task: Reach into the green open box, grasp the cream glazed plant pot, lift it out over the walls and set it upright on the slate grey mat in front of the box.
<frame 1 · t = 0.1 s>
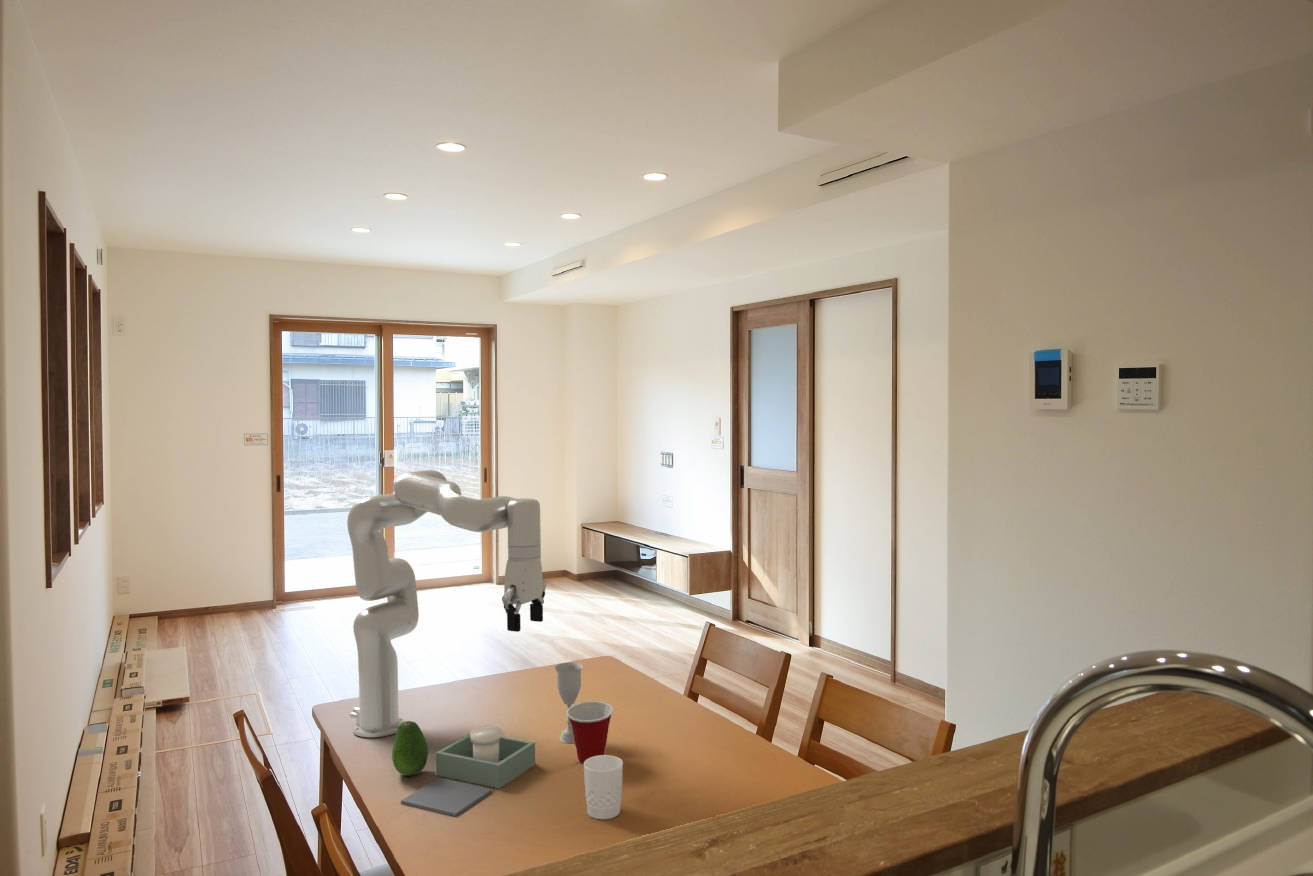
hand: (525, 626, 196), 31 cm above the table, tool pointing down, fingers open, 9 cm apart
green open box: (486, 769, 191), on the table
white cup: (603, 813, 170), on the table
mat: (446, 797, 177), on the table
avocado: (410, 775, 189), on the table
chalice: (569, 740, 209), on the table
pot: (486, 750, 191), in the green open box
plastic cup: (590, 761, 196), on the table
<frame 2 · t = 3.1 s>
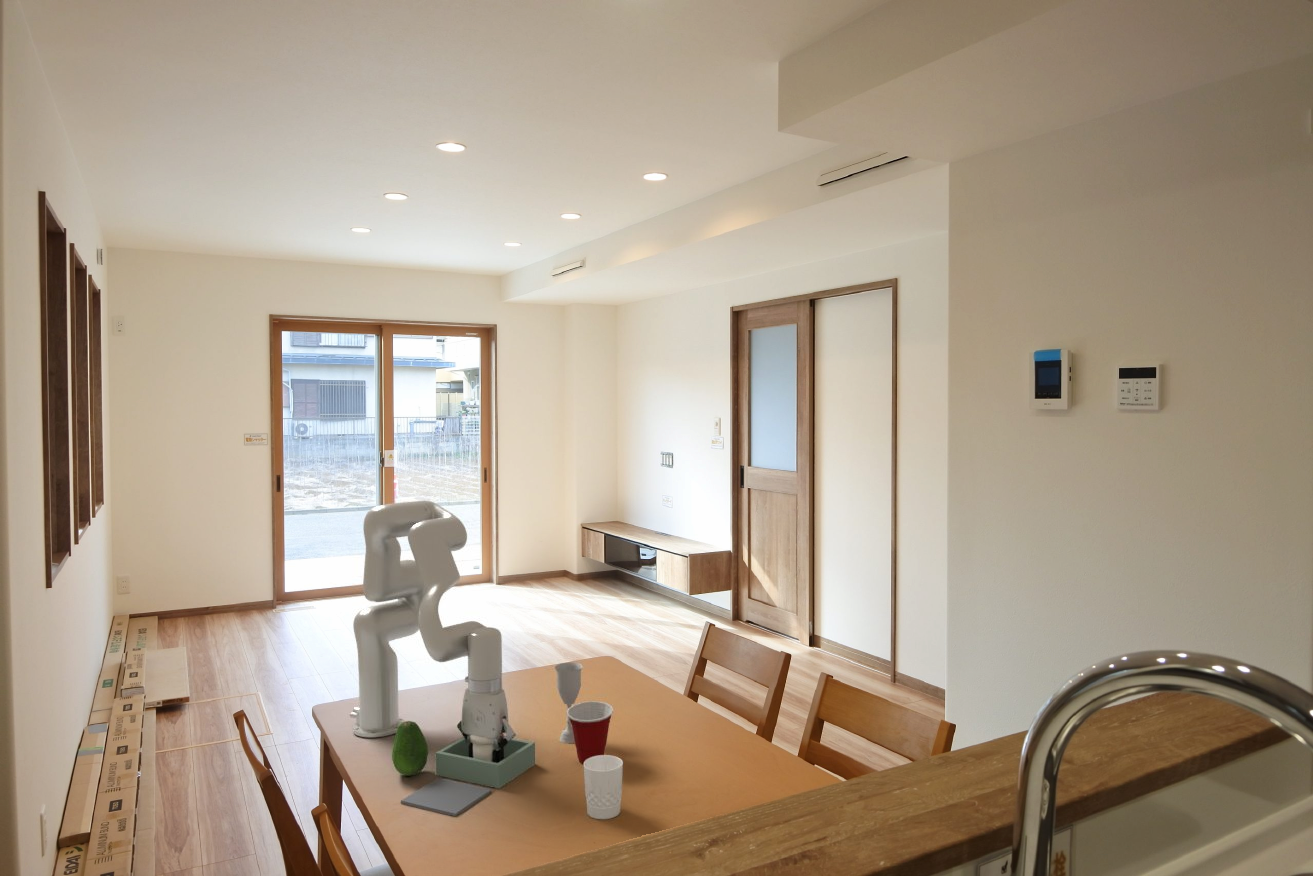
hand: (486, 762, 191), 2 cm above the table, tool pointing down, fingers closed on pot, 5 cm apart
pot: (486, 750, 191), in the green open box, touching gripper
everything else where it was.
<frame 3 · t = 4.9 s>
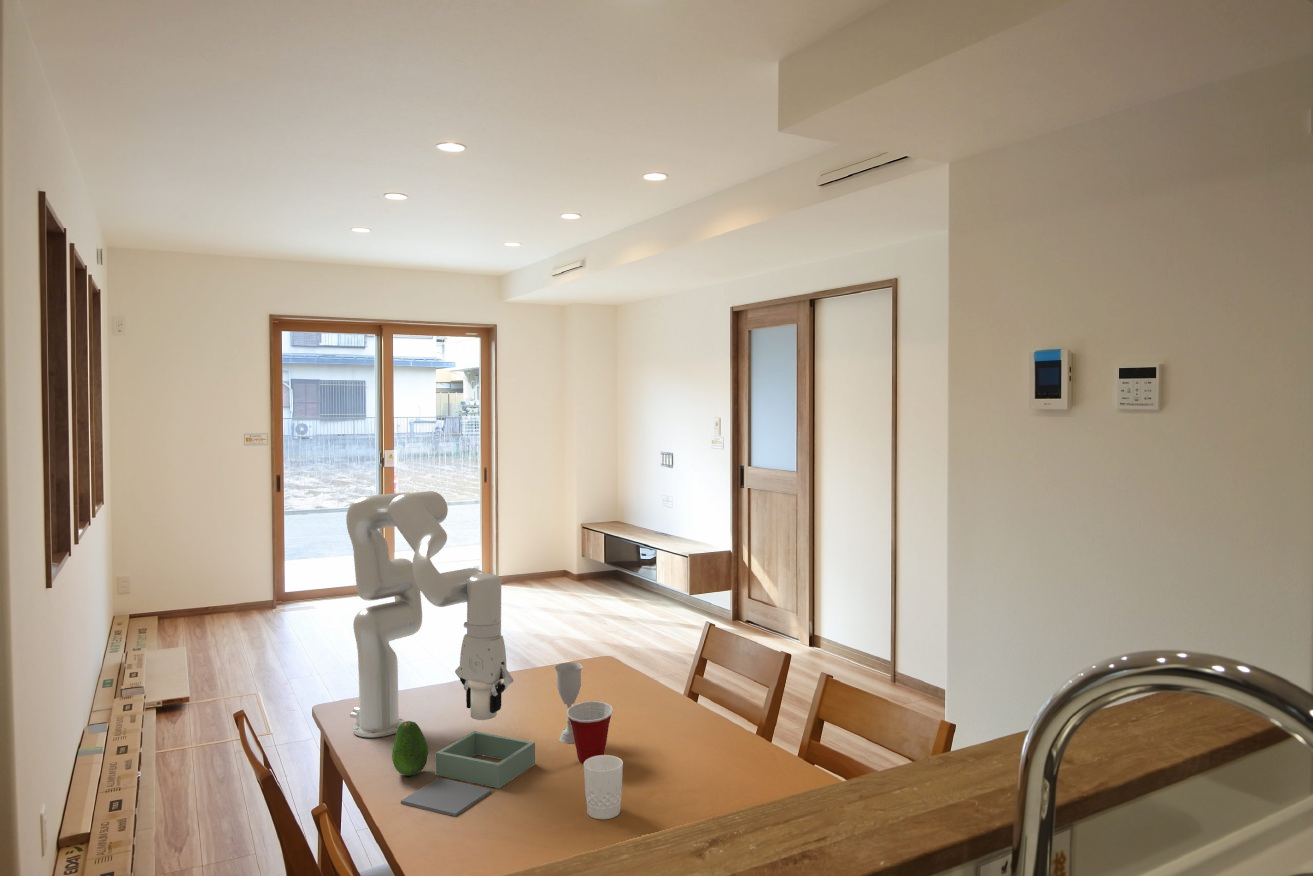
hand: (483, 708, 191), 14 cm above the table, tool pointing down, fingers closed on pot, 5 cm apart
pot: (483, 696, 191), point 16 cm above the table, touching gripper
everything else where it was.
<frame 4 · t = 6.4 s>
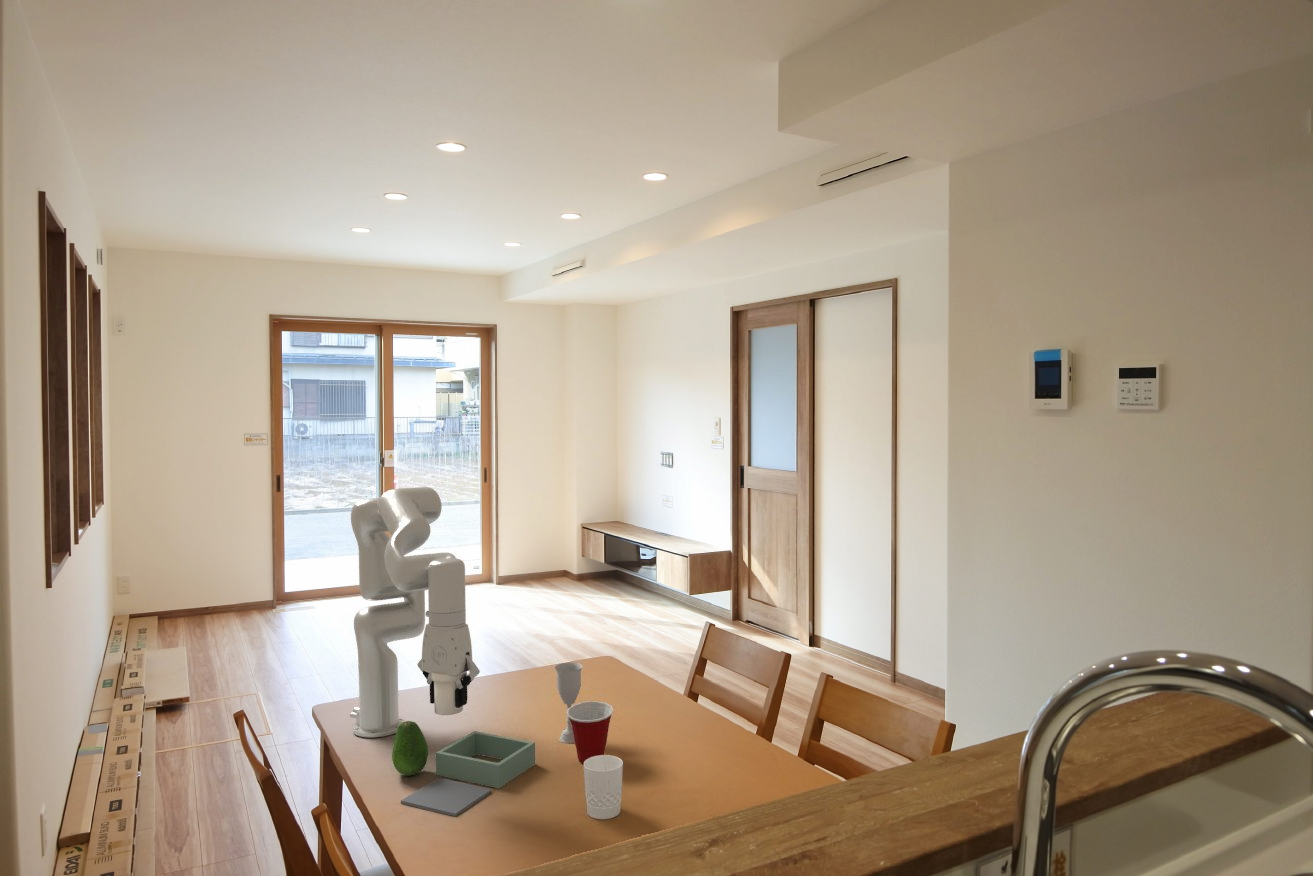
hand: (448, 702, 178), 20 cm above the table, tool pointing down, fingers closed on pot, 5 cm apart
pot: (448, 690, 178), point 22 cm above the table, touching gripper
everything else where it was.
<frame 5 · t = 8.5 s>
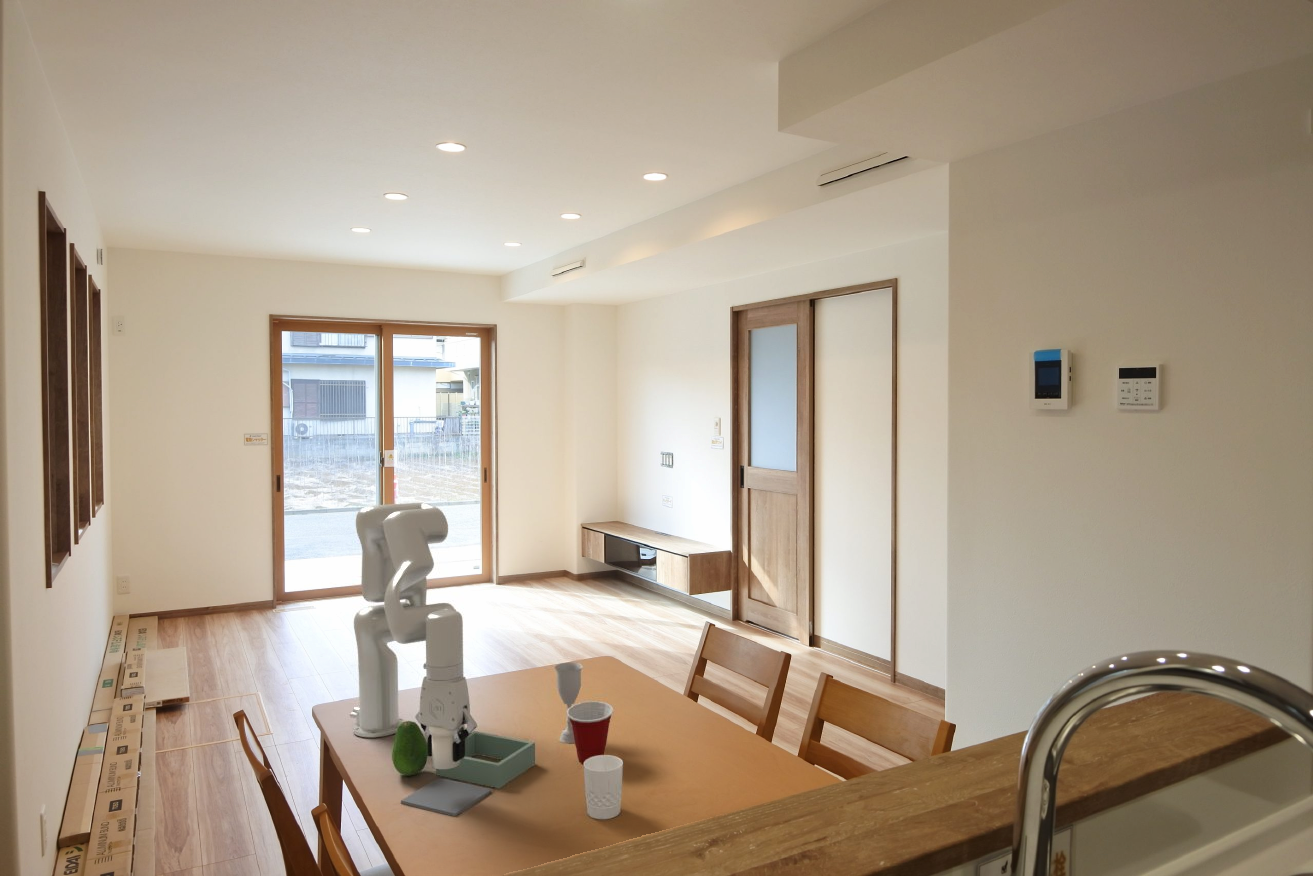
hand: (446, 756, 177), 9 cm above the table, tool pointing down, fingers closed on pot, 5 cm apart
pot: (446, 743, 177), point 12 cm above the table, touching gripper
everything else where it was.
when the fingers open (4 cm above the table, at t = 10.0 s): pot drops 1 cm, resting on mat.
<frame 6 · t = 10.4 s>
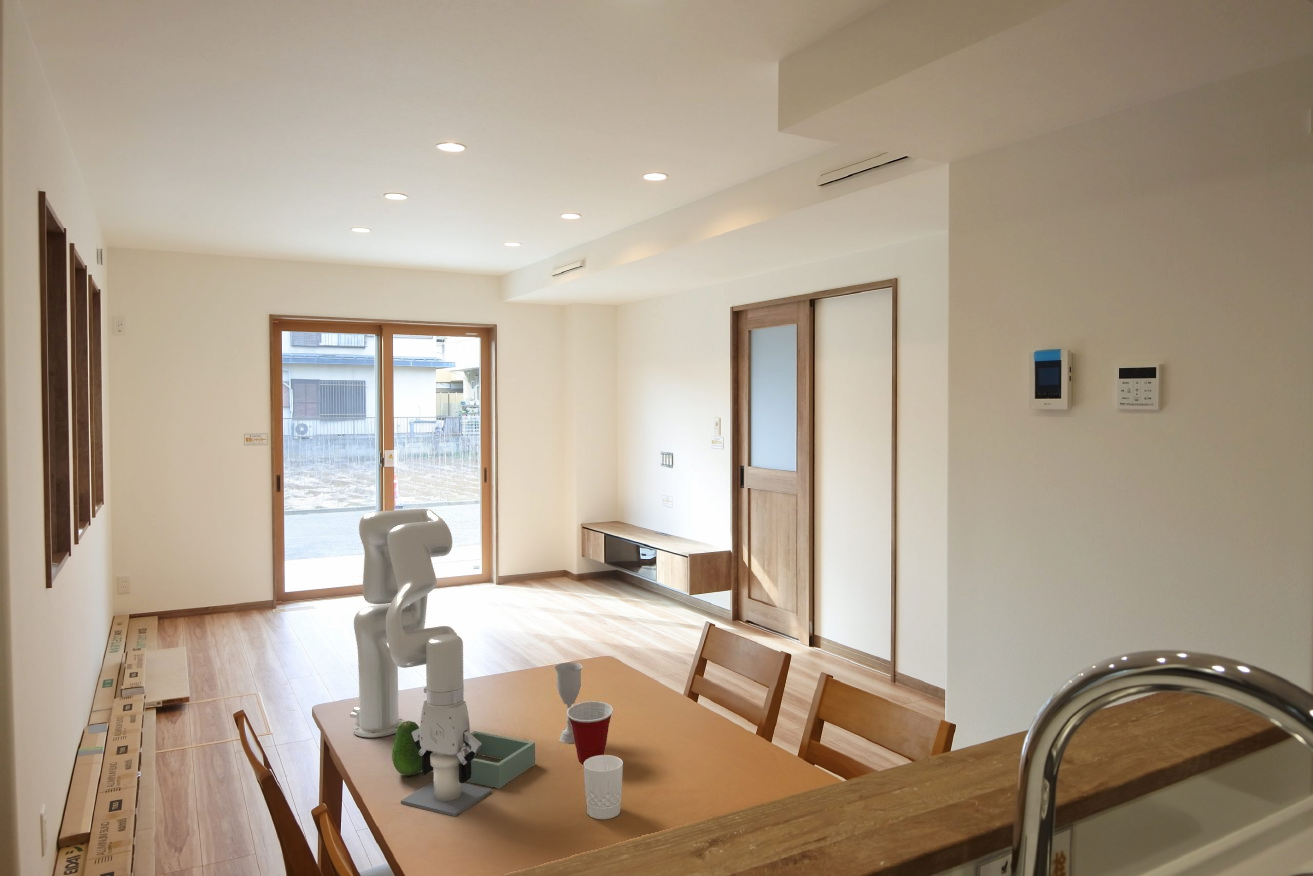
hand: (446, 776, 177), 4 cm above the table, tool pointing down, fingers open, 9 cm apart
pot: (447, 774, 177), on the mat, point 5 cm above the table
everything else where it was.
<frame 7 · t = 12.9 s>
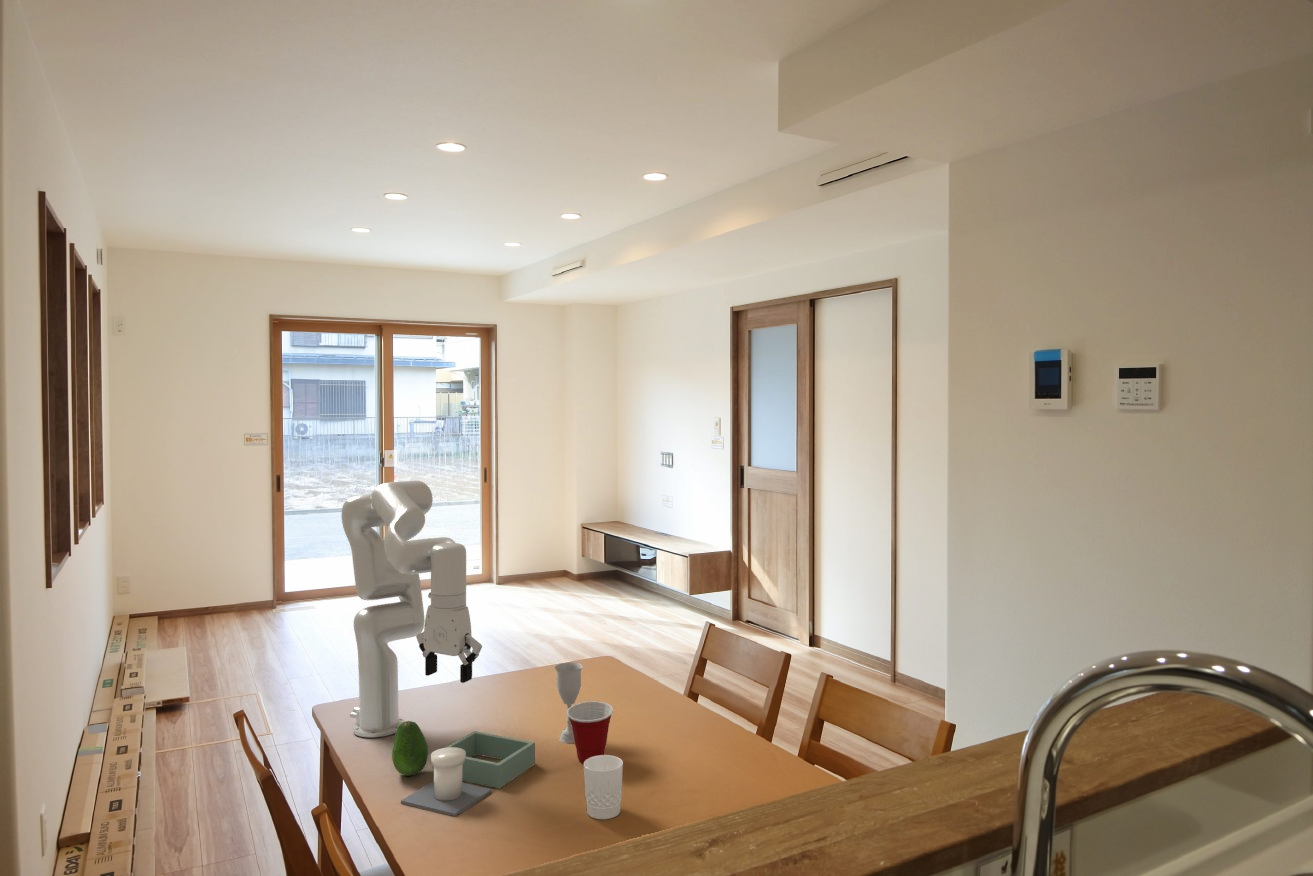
hand: (448, 677, 186), 23 cm above the table, tool pointing down, fingers open, 9 cm apart
nothing on the table moved.
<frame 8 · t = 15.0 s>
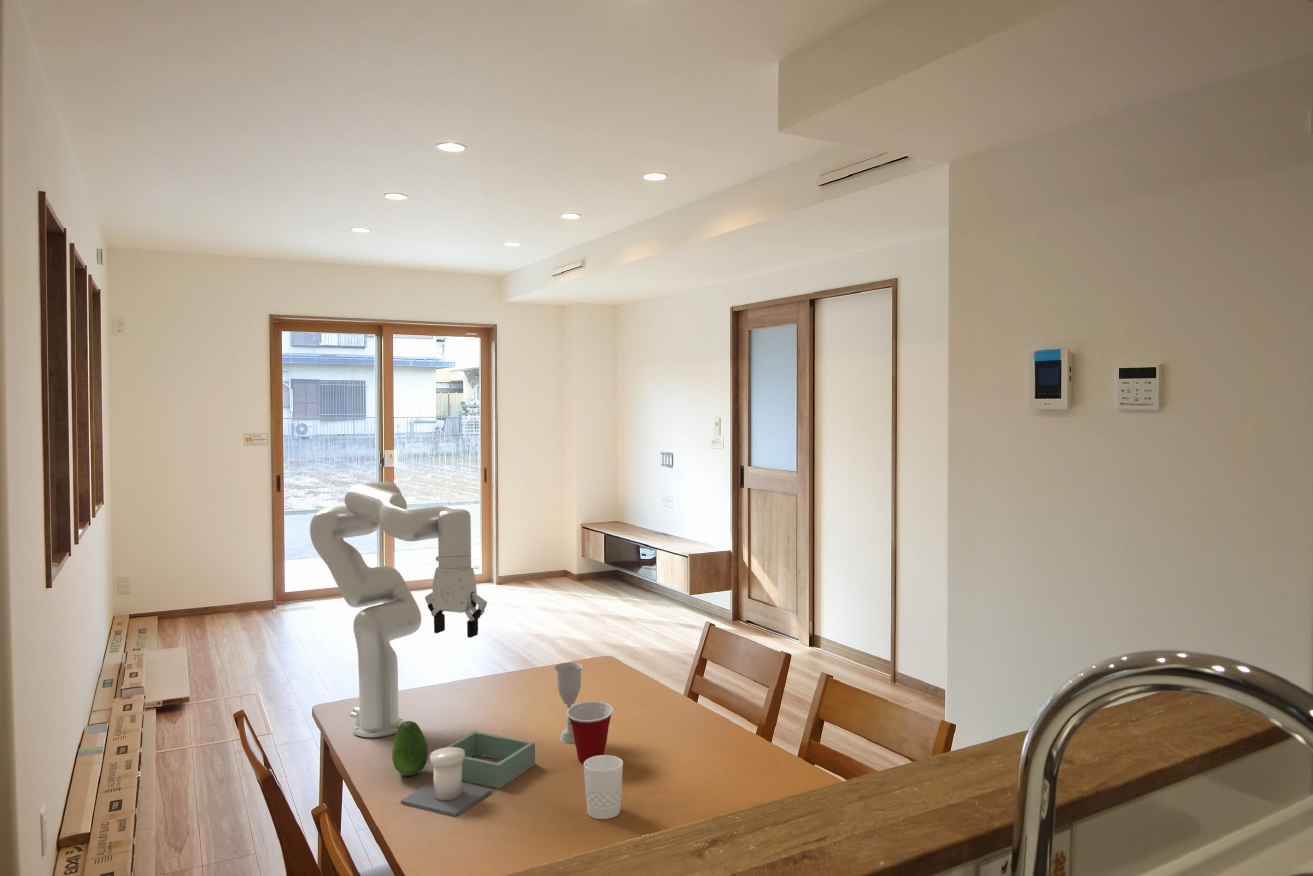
hand: (455, 634, 200), 28 cm above the table, tool pointing down, fingers open, 9 cm apart
nothing on the table moved.
at the end: pot inside the target area on the mat (0.3 cm from its centre), point 5.0 cm above the mat's base; pot tilted 2°; the gripper is holding nothing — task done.
